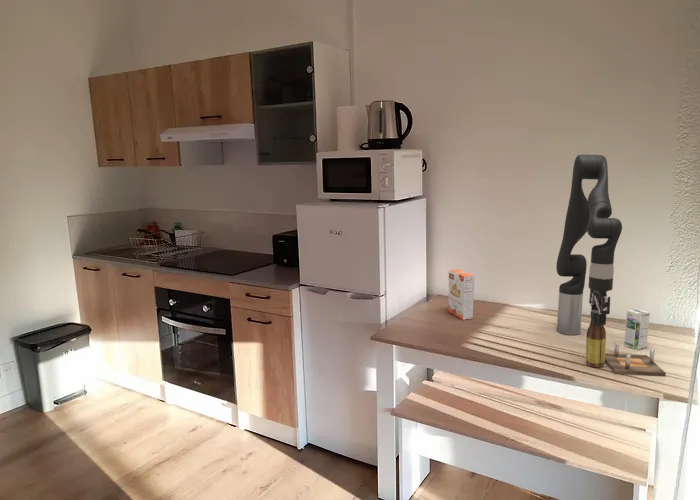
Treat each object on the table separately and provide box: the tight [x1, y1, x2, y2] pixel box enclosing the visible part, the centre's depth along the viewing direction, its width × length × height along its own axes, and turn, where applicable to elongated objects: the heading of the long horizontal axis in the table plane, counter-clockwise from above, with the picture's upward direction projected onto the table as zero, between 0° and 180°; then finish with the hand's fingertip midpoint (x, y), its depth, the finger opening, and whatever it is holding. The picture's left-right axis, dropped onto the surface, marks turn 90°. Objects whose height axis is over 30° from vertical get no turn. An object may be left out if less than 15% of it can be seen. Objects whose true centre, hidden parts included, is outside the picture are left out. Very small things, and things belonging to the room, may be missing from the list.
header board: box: [604, 352, 667, 377], centre depth 182 cm, size 16×16×1 cm
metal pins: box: [613, 342, 656, 369], centre depth 182 cm, size 13×11×5 cm
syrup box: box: [623, 308, 651, 350], centre depth 199 cm, size 6×6×14 cm
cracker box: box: [447, 269, 475, 321], centre depth 241 cm, size 14×6×21 cm, turn 17°
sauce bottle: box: [585, 309, 607, 368], centre depth 182 cm, size 6×6×20 cm
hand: (598, 320), depth 181 cm, fingers open, 8 cm apart
